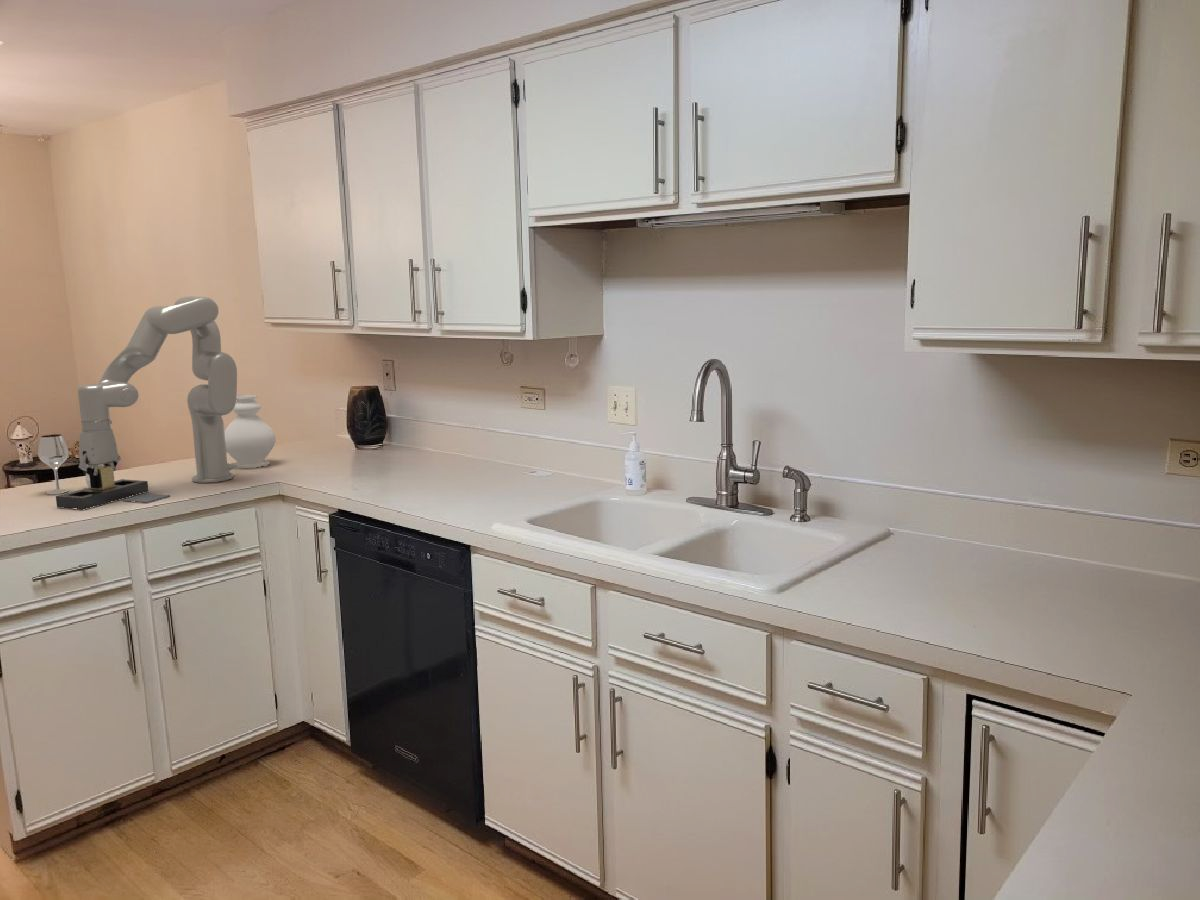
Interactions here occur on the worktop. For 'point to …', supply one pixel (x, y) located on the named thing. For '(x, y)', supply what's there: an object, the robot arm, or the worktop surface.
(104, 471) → the brass peg
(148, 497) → the grey rubber mat
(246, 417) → the decorative vase
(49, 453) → the wineglass
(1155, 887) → the worktop surface
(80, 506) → the dark grey compartment tray
